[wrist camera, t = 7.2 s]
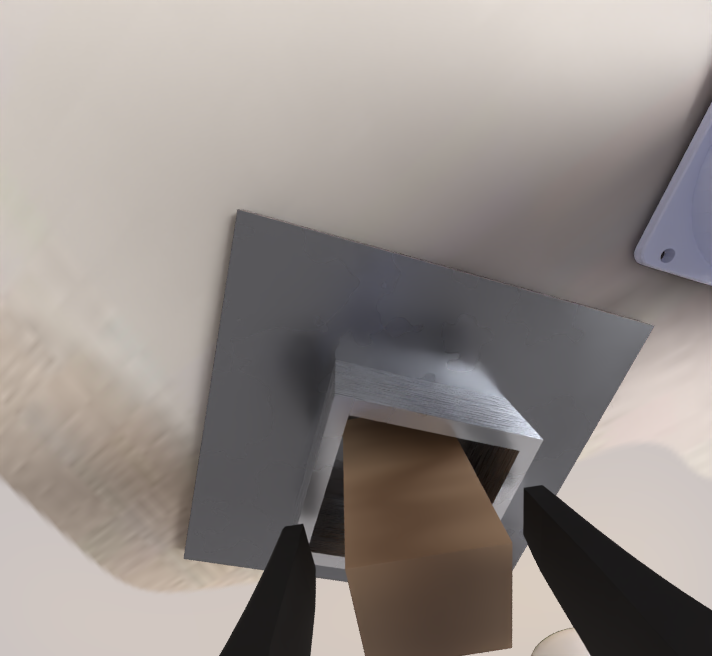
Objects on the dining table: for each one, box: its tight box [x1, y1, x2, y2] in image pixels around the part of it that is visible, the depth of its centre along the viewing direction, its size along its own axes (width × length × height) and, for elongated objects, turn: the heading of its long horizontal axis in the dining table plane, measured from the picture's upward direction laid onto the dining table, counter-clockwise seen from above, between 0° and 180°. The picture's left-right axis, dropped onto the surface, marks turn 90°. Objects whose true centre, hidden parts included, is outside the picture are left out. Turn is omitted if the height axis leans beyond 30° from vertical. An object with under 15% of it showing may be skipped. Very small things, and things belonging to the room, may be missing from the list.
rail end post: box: [343, 418, 512, 656], centre depth 11 cm, size 4×4×6 cm
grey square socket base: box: [184, 209, 654, 582], centre depth 13 cm, size 16×16×3 cm
